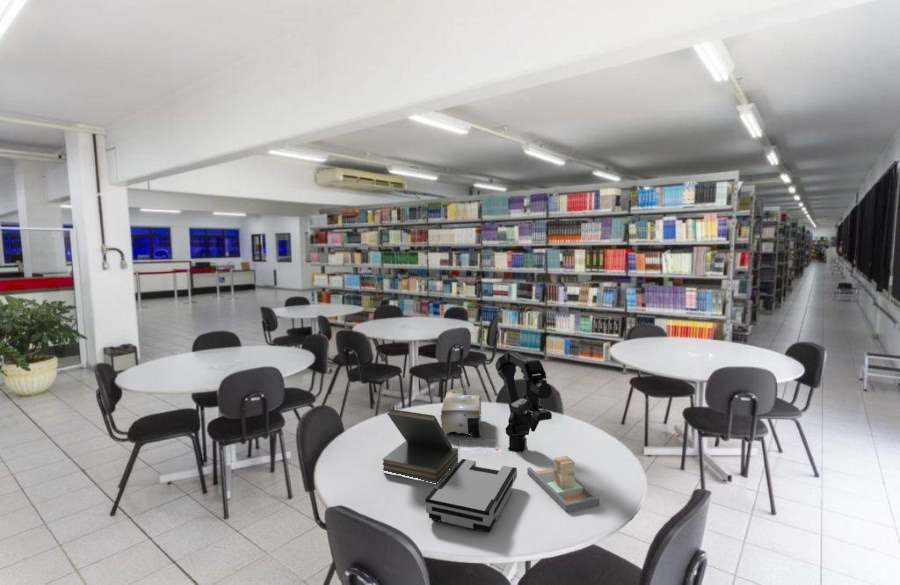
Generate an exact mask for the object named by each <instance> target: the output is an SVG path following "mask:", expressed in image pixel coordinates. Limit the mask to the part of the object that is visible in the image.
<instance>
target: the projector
mask: <svg viewBox="0 0 900 585" xmlns="http://www.w3.org/2000/svg"><path fill="white" fill-rule="evenodd" d="M444 397H445V398H444V400H443V405H442V407H441V411H440V412H441V413H440V423H441V424H440V426H441V428H442V429H443V431H444V433H445V435H447V434H450V433H452V432H457V433H456V434H460V433H463V434H466V435H467V434H468V435H467V436H469V437H471V438H475V439H476V438H480V437H482V426H481V425H482V422H481V421H482V401H481V400H482V399H481V397H482V396H481V395H480V394H466V393H465V389H464V388H463V387H459V388H454V389H448V390H447V391H446V394H445V396H444ZM469 434H470V435H469Z"/></svg>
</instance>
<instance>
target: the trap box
mask: <svg viewBox="0 0 900 585" xmlns="http://www.w3.org/2000/svg"><path fill="white" fill-rule="evenodd" d="M526 474H527V475H528V476H529V478H531V480H532V481H534V482H535V483H536V485H538V487H540V488H541V489H542V490H543V491H544V492H545V493H546V494H547V495H548V496H549V497H550V498H551V499H552V500H553V501H554V502H555V503H556V504H557V506H559V507H560V508H561V509H562V510H563V511H564V513H569V512H570V513H571V512H574V511H579V510H585V509H588V508H589V509H590V508H593V507H598V506H600V498H599V496H597V495H596V494H595V493H593V492H592V491H591V490H590V489H589V488H587V487H586V486H585V485H584V484H583V483H582V482H580V481H579V480H578V479H577V478H576V477H575V478H574V487H573V488H567V489H562V490H561V489H560V488H559V487H558V486H557V485H556V484H555V483H554V467H553V468H548V469H543V470H538V471H535V470H534V469H533V467H531V466H530V467H527V472H526Z"/></svg>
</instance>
